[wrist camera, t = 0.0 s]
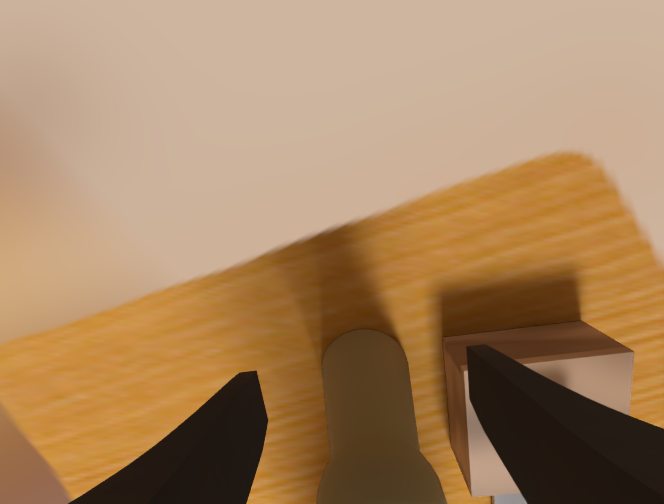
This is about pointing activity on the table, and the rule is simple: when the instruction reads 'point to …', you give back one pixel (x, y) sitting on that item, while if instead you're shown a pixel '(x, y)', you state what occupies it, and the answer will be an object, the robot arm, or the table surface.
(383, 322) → the table surface
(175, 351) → the table surface
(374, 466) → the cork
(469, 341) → the walnut cover
